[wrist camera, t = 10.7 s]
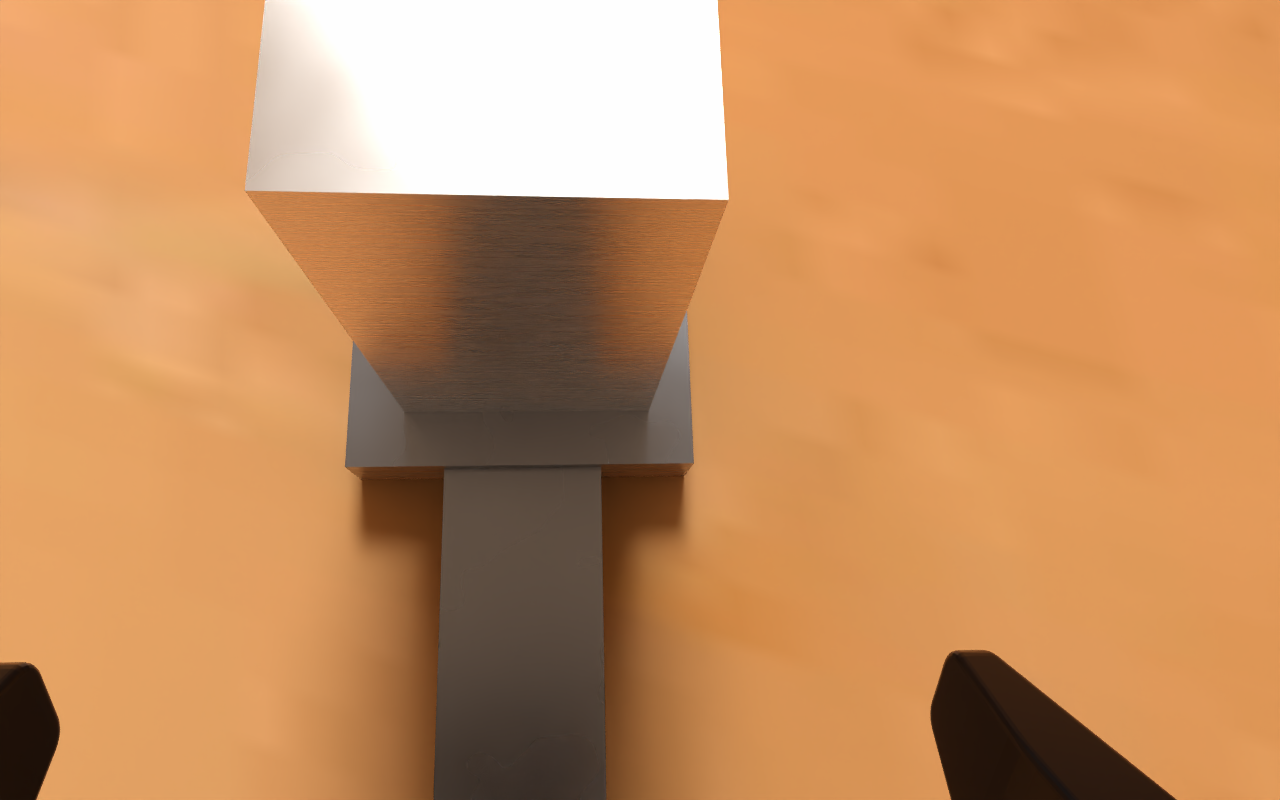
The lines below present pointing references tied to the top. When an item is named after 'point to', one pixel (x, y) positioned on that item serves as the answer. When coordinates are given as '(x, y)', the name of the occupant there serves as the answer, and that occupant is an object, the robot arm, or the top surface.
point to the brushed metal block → (496, 187)
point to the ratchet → (520, 571)
